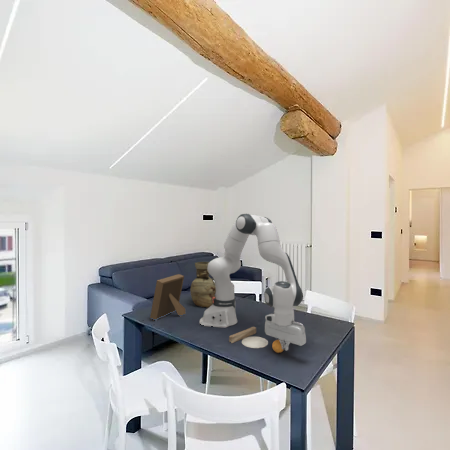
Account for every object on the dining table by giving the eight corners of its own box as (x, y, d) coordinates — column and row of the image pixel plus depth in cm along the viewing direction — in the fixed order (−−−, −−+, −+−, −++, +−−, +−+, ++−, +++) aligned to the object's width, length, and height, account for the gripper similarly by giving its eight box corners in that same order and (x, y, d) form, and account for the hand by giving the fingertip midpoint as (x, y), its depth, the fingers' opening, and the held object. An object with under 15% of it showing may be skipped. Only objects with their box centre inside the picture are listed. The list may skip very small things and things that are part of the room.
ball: (276, 354, 128) (269, 343, 131) (276, 355, 133) (270, 344, 136) (286, 348, 129) (279, 336, 131) (286, 349, 134) (280, 338, 136)
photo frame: (149, 320, 176) (149, 279, 175) (172, 309, 195) (172, 273, 194) (169, 324, 169) (168, 282, 168) (190, 313, 188) (190, 275, 188)
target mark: (241, 348, 137) (241, 347, 137) (241, 336, 150) (241, 336, 150) (269, 348, 136) (269, 347, 136) (266, 337, 149) (266, 336, 149)
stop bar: (256, 333, 154) (256, 327, 154) (232, 343, 142) (231, 337, 142) (253, 332, 156) (253, 326, 156) (229, 342, 144) (229, 336, 143)
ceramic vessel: (224, 305, 203) (223, 263, 202) (195, 310, 194) (194, 265, 194) (214, 299, 220) (213, 260, 220) (187, 302, 212) (186, 262, 211)
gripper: (308, 322, 124) (309, 354, 124) (270, 312, 139) (271, 341, 139) (300, 325, 120) (301, 359, 119) (262, 315, 135) (263, 345, 135)
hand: (285, 349), depth 129 cm, fingers closed
